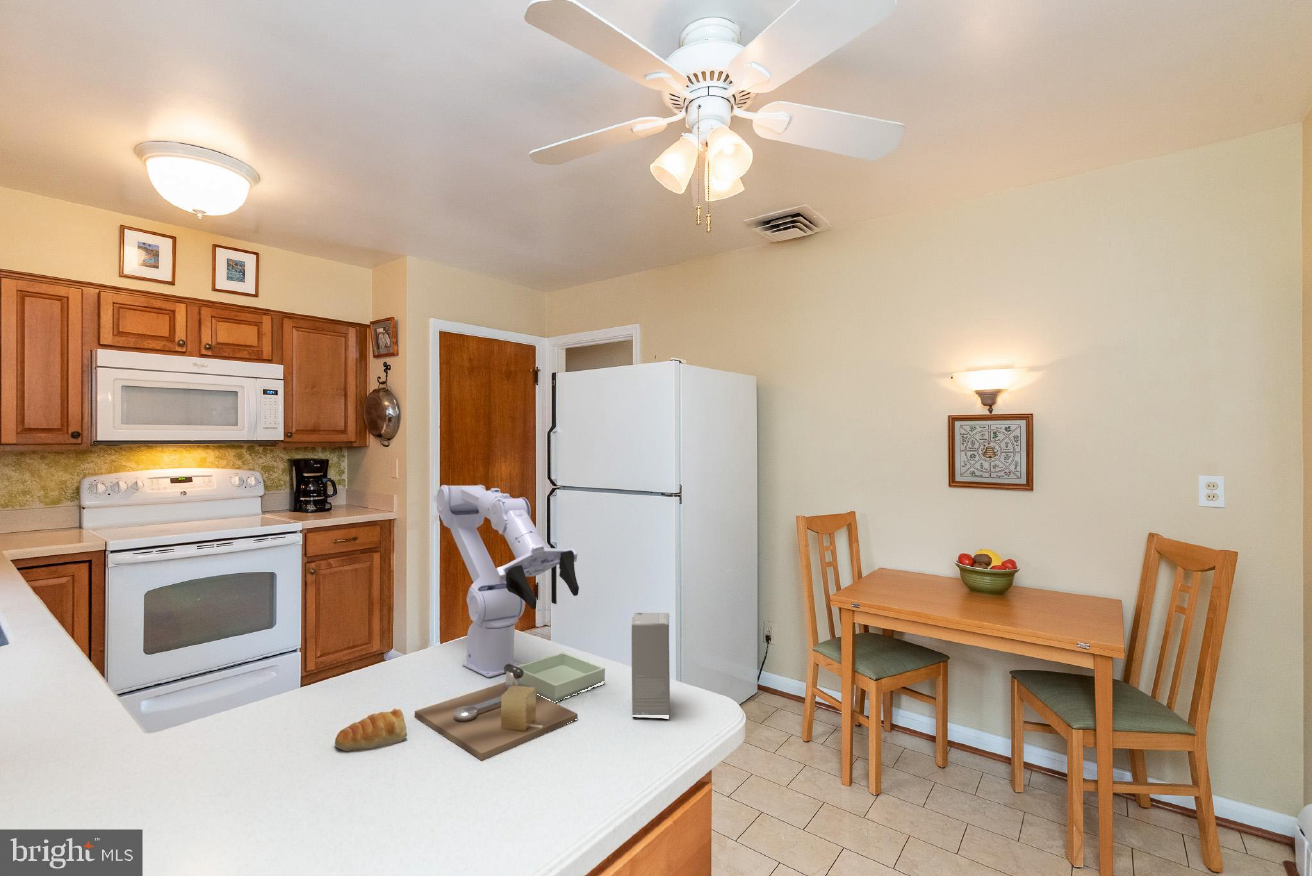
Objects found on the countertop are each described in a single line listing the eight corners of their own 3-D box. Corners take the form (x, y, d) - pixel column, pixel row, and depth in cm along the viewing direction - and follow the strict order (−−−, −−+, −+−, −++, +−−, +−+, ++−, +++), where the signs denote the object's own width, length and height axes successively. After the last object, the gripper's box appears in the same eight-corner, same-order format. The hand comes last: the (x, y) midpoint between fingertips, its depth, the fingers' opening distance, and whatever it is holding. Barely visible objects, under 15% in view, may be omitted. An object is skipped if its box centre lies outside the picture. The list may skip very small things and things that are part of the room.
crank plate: (414, 717, 97) (414, 710, 97) (508, 686, 110) (508, 680, 110) (481, 760, 84) (481, 752, 84) (577, 720, 98) (577, 713, 98)
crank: (463, 724, 92) (464, 687, 92) (447, 714, 95) (448, 679, 95) (526, 701, 101) (527, 668, 101) (510, 693, 104) (511, 661, 104)
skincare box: (669, 721, 99) (673, 625, 99) (626, 719, 99) (630, 623, 99) (669, 700, 107) (673, 611, 107) (629, 698, 107) (633, 609, 108)
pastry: (340, 761, 83) (341, 733, 83) (329, 742, 88) (331, 715, 89) (410, 742, 89) (411, 716, 89) (396, 725, 94) (397, 700, 95)
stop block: (500, 728, 92) (501, 695, 92) (511, 717, 96) (512, 685, 96) (525, 730, 91) (525, 697, 91) (535, 719, 95) (535, 687, 95)
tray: (513, 683, 112) (513, 667, 112) (562, 667, 121) (563, 652, 121) (554, 703, 104) (555, 685, 104) (604, 684, 113) (605, 668, 113)
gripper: (488, 538, 105) (515, 594, 95) (565, 519, 112) (597, 570, 103) (487, 566, 108) (513, 623, 99) (561, 546, 116) (592, 597, 107)
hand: (555, 598), depth 101 cm, fingers open, 7 cm apart
